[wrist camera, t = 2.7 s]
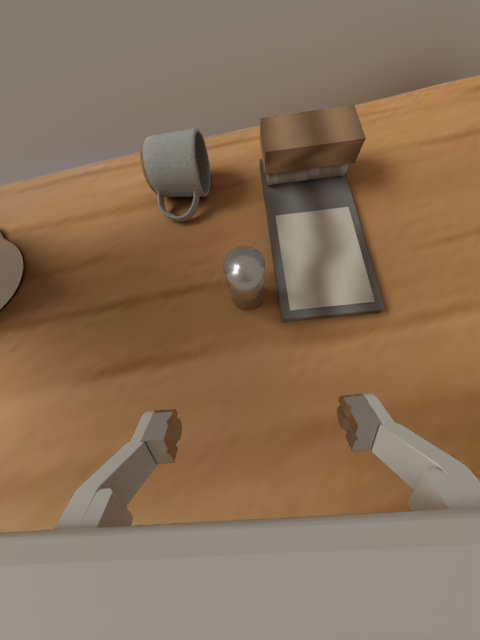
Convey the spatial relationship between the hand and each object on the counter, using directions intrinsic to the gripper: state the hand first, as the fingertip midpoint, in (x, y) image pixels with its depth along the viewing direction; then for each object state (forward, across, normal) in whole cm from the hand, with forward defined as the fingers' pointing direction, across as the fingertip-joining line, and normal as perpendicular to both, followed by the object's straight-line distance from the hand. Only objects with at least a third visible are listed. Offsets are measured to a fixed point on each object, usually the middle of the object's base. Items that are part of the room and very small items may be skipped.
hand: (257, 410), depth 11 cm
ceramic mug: (+32, +8, -11) cm, 35 cm away
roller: (+19, 0, +2) cm, 19 cm away
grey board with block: (+25, -10, -5) cm, 28 cm away
